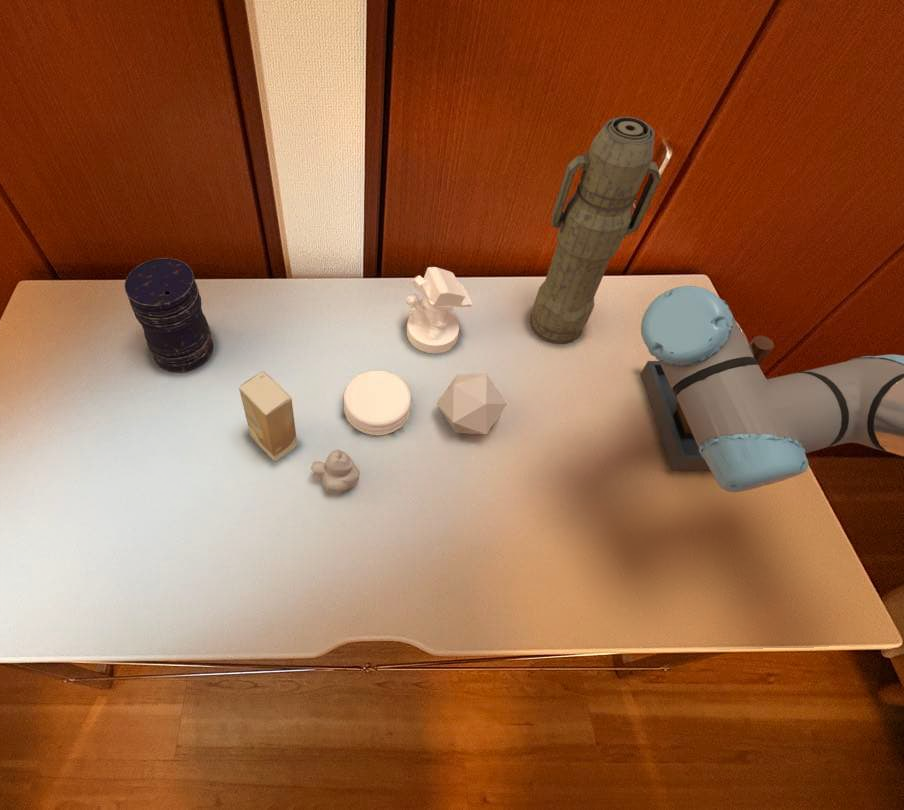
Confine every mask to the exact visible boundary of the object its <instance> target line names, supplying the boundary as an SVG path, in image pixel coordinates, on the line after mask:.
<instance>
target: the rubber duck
mask: <svg viewBox="0 0 904 810" xmlns="http://www.w3.org/2000/svg"><path fill="white" fill-rule="evenodd" d="M310 470H311V472H312V474H313V477H314V478H315V479H317V480H322V483H323V485H324V487H325V489H326V491H327V492H329V493H334V494H335V493H337V494H341V493H342V492H345V491H348V490H350V489H352V488H353V487H354V486H355V485H357V483H358V481H359V479H360V470H359V467H358V466H357V465H356V464H355V463H354V460H353V458H352V457H350V455H349V454H347V452H345V451H344V450H340V449H336V450H333V451H331V452H330V453H329V454H328V456H327V457H326V459H325V462H322V461H317V460H316V461H313V462H312V463H311V466H310Z"/></svg>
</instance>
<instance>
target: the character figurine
mask: <svg viewBox="0 0 904 810" xmlns="http://www.w3.org/2000/svg"><path fill="white" fill-rule="evenodd" d="M410 283H411V284H412V285H414V286H413V288H414V289H416V290H417V291H418V292H419V293H421V294H422V298H421V299H420V298H419V296H418V294H415V293H413V294H409V296H407V298H406V300H405V302H406V304H407V306H409V307H408V311H409V313H410V315H409V317H408V319H407V323H406V337H407V339H408V342H409V343H410V344H411V345H412V346H413V347H414V348H415V349H417V350H419V351H420V352H423V353H428V354H436V355H437V354H443V353H445V352H447V351H450V350H451V349H452V348H453V347H454V346H455V345H456V343H457V341H458V337H459V332H460V324H459V321H458V319H457V317H456V315H454V314H453V308H455V307H457V308H458V307H462V308H463V307H466V308H467V307H468V308H469V307H472V306H473V302H472V299H471V298H470V295H469V294H468V292H467V290H466V288H465V287H464V285H463V283H459V281H458V278H457V277H456V276H455V273H453V271H450V270H447V269H444V268H440V267H436V266H428V267H427V268H426V270H425V274H424V276H423V277H422V276H421V275H416V276H415V277H413V279H412V280H411V281H410Z"/></svg>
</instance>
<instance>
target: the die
mask: <svg viewBox="0 0 904 810" xmlns="http://www.w3.org/2000/svg"><path fill="white" fill-rule="evenodd" d="M436 405H437V407H438V408H439V410H440V411H441V413H442V414H443V416H444V418H445V419H446V420H447V423H449V425H450V427H452V429H453V430H454V433H456V434H470V435H471V434H475V435H487V434H488V433H489V431H490V430H491V428H492V427H493V425H494V424H495V423H496V421H497V419H498V418H499V416H500V415H501V414H502V412H503V410H504V409H505V407H506V406H507V405H508V403H507V402H506V401H505V399H504V398H503V396H502V395H501V393H500V391H499V390H498V388H497V387H496V386H495V384H494V382H493V381H492V379H491V378H490V376H489V375H488V373H478V374H477V373H475V374H474V373H473V374H472V373H471V374H456V375H454V378H453V379H452V380H451V382H450V384H449V385H448V386H447V387H446V389H445V391H444V392H443V394H442V395H441V396H440V398H439V399H438V401H437V402H436Z"/></svg>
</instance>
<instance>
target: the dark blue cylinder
mask: <svg viewBox="0 0 904 810" xmlns="http://www.w3.org/2000/svg"><path fill="white" fill-rule="evenodd" d="M193 272H194V271H193V270H192V268H191V267H190V266H189V265H188V264H187V263H185V262H183V261H181V260H179V259H176V258H171V257H162V258H154V259H151V260H147V261H145V262H143V263H140V264H139V265H137V266H135V268H133V269H132V270H131V271H130V272H129V273H128V275H127V276H126V278H125V281H124V291H125V293H126V296H127V298H128V300H129V305H130V307H131V309H132V312H133V313H134V316H135V318H136V320H137V321H138V322H139V324H140V325H141V327H142V329H143V335H144V339H145V341H146V345H147V348H148V350H149V351H150V353H151V355H152V357H153V359H154V363H156V365H157V366H158V367H159V368H160V369H162V370H164V371H165V372H169V373H175V374H181V373H188V372H192V371H194V370H197V369H199V368H201V367H202V366H204V365H205V364H206V363H208V361H209V360H210V358H211V357H212V355H213V352H214V341H213V338H212V332H211V331H212V330H211V328H210V325H209V322H208V320H207V317H206V316H205V314H204V312H203V309H202V297H201V295H200V294H201V293H200V291H199V287H198V284H197V282H196V279H195V275H194V273H193Z"/></svg>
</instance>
